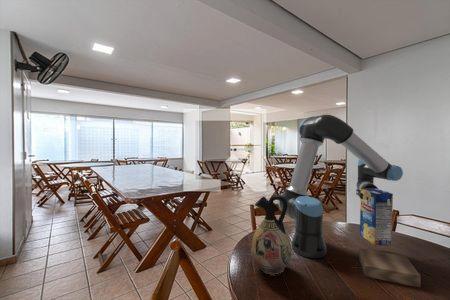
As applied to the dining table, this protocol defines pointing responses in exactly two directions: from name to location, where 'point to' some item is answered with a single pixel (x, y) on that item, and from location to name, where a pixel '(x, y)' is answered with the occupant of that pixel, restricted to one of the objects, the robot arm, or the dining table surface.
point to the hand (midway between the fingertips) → (380, 201)
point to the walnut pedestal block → (389, 267)
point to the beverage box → (376, 217)
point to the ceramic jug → (271, 238)
